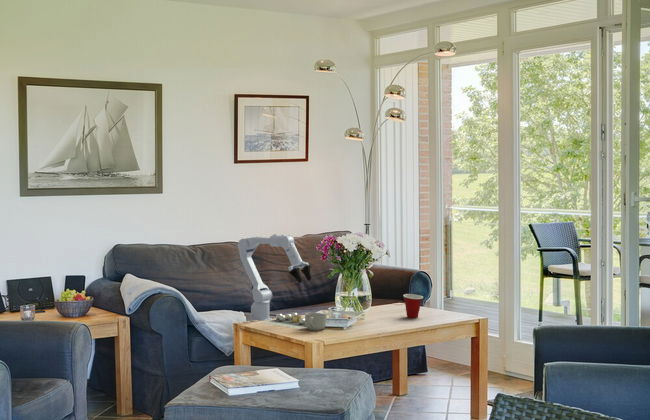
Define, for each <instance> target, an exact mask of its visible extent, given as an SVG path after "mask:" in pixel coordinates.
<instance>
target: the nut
mask: <svg viewBox="0 0 650 420" xmlns="http://www.w3.org/2000/svg"><path fill="white" fill-rule="evenodd" d="M299 318H302V315H298V314H297V315H295V316H292V322H293V323H299Z"/></svg>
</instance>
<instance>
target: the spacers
mask: <svg viewBox="0 0 650 420" xmlns="http://www.w3.org/2000/svg"><path fill="white" fill-rule="evenodd" d="M295 315H298V312H291V313H286V314H284V315H283V313H276V317H275V318H276V319H275V320H279V322H285V320H286V321H290V320H291V319H292V316H295ZM299 325H305V317H301V318H299Z"/></svg>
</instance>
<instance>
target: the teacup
mask: <svg viewBox="0 0 650 420" xmlns="http://www.w3.org/2000/svg"><path fill="white" fill-rule="evenodd" d="M304 315H305V316H304V319H305V326H306V327H305V328H307V330H309V331H316V332H317V331H322V330H323V329H325V328H326V324H327V317H328V314H325V313H322V312H305V313H304Z"/></svg>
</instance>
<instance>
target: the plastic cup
mask: <svg viewBox="0 0 650 420" xmlns="http://www.w3.org/2000/svg"><path fill="white" fill-rule="evenodd" d="M403 298H404V299H403V300H404V303H405V304H404V305H405V312H406V317H407V318H408V319H418V318H419V314H420V313H419V312H420V308H421V304H422V301H423V299H424V296H422V295H420V294H413V293H405V294H403Z"/></svg>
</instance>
